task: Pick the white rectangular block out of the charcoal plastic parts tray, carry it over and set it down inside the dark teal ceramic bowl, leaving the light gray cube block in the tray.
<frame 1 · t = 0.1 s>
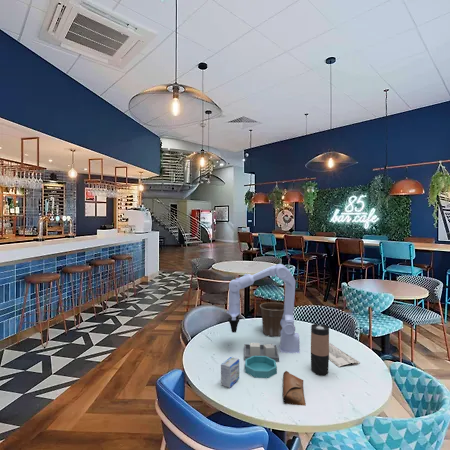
hand: (234, 329, 148), 10 cm above the table, fingers open, 7 cm apart
travel mug: (319, 372, 126), on the table
plant pot: (273, 333, 169), on the table
parts tray: (260, 355, 140), on the table
bowl: (260, 370, 126), on the table
light gray cube block: (269, 354, 140), resting on parts tray
sunglasses case: (293, 392, 112), on the table
white rectangular block: (254, 354, 141), resting on parts tray
newspaper: (335, 356, 142), on the table
medicine box: (230, 382, 117), on the table
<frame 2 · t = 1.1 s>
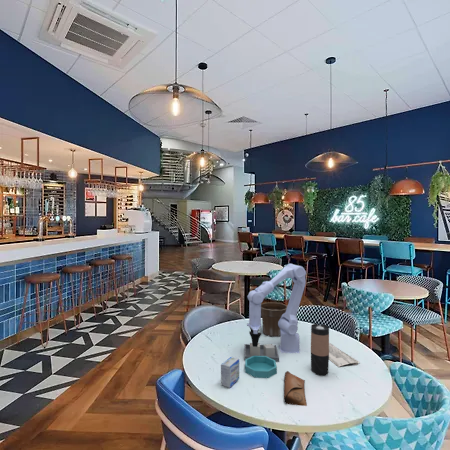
hand: (254, 342, 140), 6 cm above the table, fingers open, 7 cm apart
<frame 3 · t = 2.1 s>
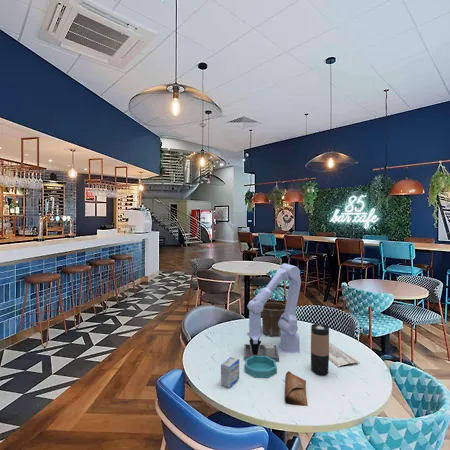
hand: (254, 352, 140), 2 cm above the table, fingers closed on white rectangular block, 4 cm apart
white rectangular block: (254, 354, 141), resting on parts tray, touching gripper
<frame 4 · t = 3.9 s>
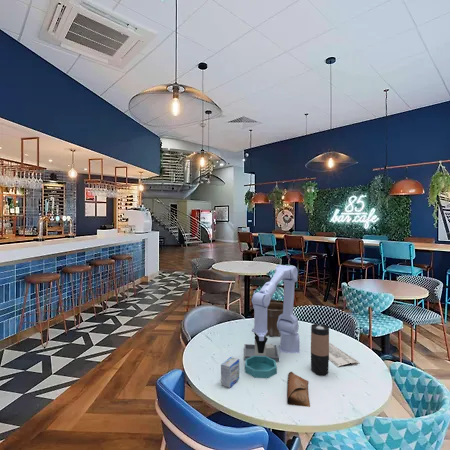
hand: (260, 350, 126), 9 cm above the table, fingers closed on white rectangular block, 4 cm apart
white rectangular block: (260, 353, 126), point 8 cm above the table, touching gripper
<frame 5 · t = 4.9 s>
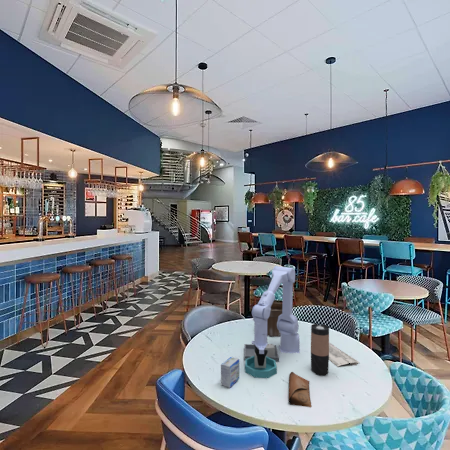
hand: (260, 362, 126), 3 cm above the table, fingers closed on white rectangular block, 4 cm apart
white rectangular block: (260, 365, 126), point 2 cm above the table, touching gripper
when the fingers open (3 cm above the table, at t = 5.5 s): white rectangular block stays where it is, resting on bowl.
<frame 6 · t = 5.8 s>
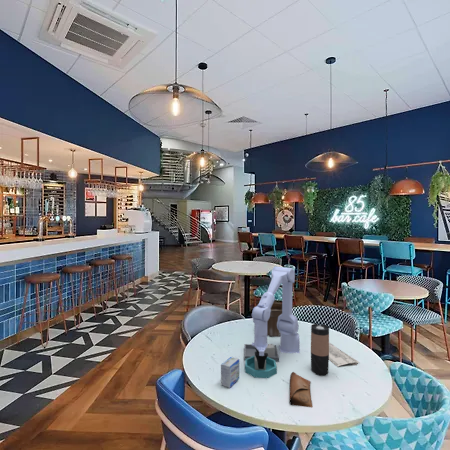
hand: (260, 364, 126), 3 cm above the table, fingers open, 6 cm apart
white rectangular block: (260, 369, 126), point 1 cm above the table, touching bowl
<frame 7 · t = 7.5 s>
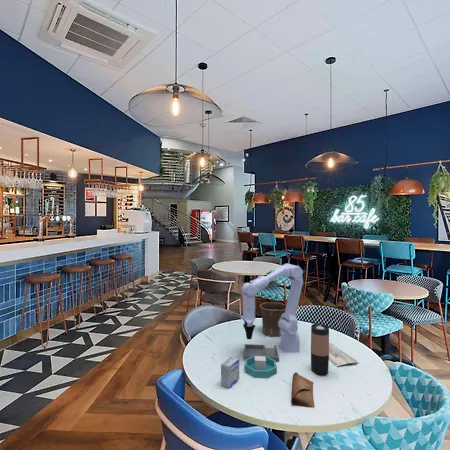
hand: (248, 335, 139), 10 cm above the table, fingers open, 7 cm apart
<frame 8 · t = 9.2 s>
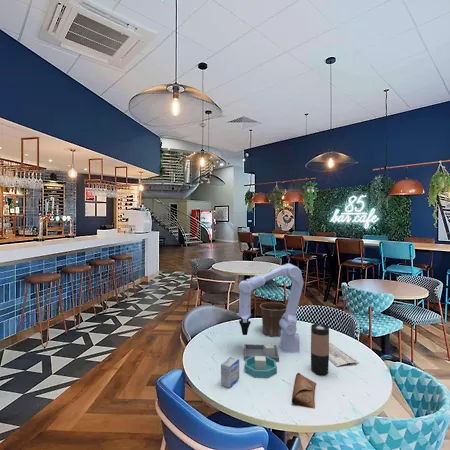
hand: (244, 331, 144), 10 cm above the table, fingers open, 7 cm apart
at the end: white rectangular block 0.2 cm from the bowl (horizontally); white rectangular block point 0.6 cm above the table; the gripper is holding nothing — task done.
